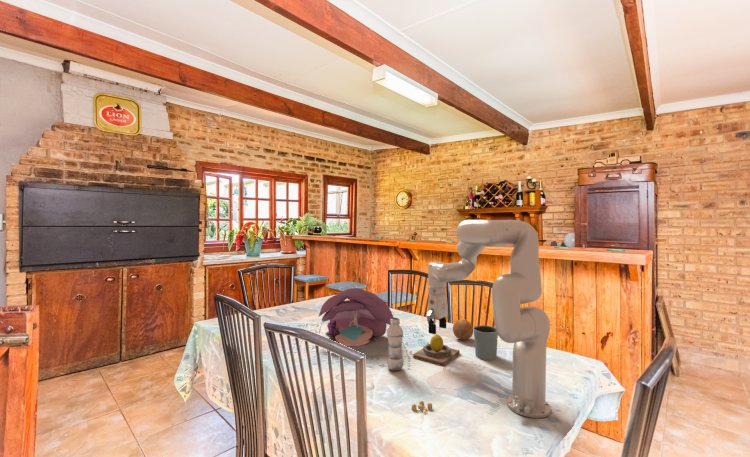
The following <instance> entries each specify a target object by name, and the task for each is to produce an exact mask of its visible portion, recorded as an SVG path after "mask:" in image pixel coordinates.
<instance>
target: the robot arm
mask: <svg viewBox="0 0 750 457" xmlns="http://www.w3.org/2000/svg"><path fill="white" fill-rule="evenodd" d="M455 233H456V235H455V236H456V238H457V240H458V241H459V242H457V244H456V251H457V253H458V255H459V256H460V257H461V260H459V261H458V262H447V263H444V262H443V261H432V262H429V263H428V265H427V276H428V279H427V282H428V284H427V286H428V303H427V304H428V305H427V314H426V321H427V324H428V333H429V334H431V335H436V334H437V324H436V322H437V320H438V327H439V328H440V329H447V318H448V317H447V316H448V314H449V311H448V310H449V309H448V308H449V306H448V298H447V283H449V282H455V281H459V282H460V281H463V280H465V279H467V278H468V277H469V276H470V275H471V274H472V273H473V272H474V271H475V269H476V266H477V263H478V261H477V260H478V258H477V257H478V256H479V254H481V253H482V252H483V251H484V249H485V248H486V247H491V248H492V247H507V246H508V247H509V246H513V248H512V251H511V253H510V258H509V259H510V260H509V265H510V273H505V274H501V275H499V276H498V277H497V278H496V279H495V280H494V282H493V284H492V288H491V298H492V300H491V301H492V311H493V323H494V327H495V329H496V332H497V334H498V337H499V338H500V339H501V340H502V341H503V342H504V343H506V344H507V343H508V344H513V347H512V392H511V393H512V394H511V395H509V396H507V399H506V404H507V406H508V407H509V409H510V410H511V411H512V412H514V413H516V414H518V415H521V416H523V417H527V418H532V419H533V418H534V419H542V418H545V417H548V416H550V415H551V414H552V410H551V409H552V406H551V405H550V404H549V403H548V402H547V401H546V389H547V388H546V386H547V385H546V384H547V383H546V381H547V378H546V376H547V346H548V339H549V336H550V331H551V323H550V322H551V321H550V318H549V316H548V314H547V313H546V311H545V310H543V309H542V308H539V307H537V306H530V305H529V306H523V307H521V305H524V304H529V303H533V302H537V301H538V300H540V298H541V297H542V287H543V286H542V279H541V278H542V276H541V267H540V266H541V265H540V255H539V250H540V248H539V247H540V246H539V243H540V241H539V236H538V235H539V234H538V233H537V231H536V229H535V228H534V227H533V226H532V225H531V224H530V223H528V222H526V221H523V220H517V219H496V220H495V219H491V220H490V219H488V220H487V219H465V220H463V221H461V222H459V224H458V226H457V227H456V232H455Z"/></svg>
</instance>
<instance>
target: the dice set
mask: <svg viewBox="0 0 750 457" xmlns="http://www.w3.org/2000/svg"><path fill="white" fill-rule="evenodd" d="M423 406H424V407H425V401H423V400H420V401H419V404H418V405H417V404H416V403H412V404H411V410H412V409H413V410H412V411H414V410H415V411H417V410H418V409H420V410H419V411H422V410H423V411H422V413H423V412H424V413H427V414H428V411H429V409H432V410H433V404H432V403H431V402H429V403H427V407H425V408H424V407H423ZM417 408H418V409H417ZM421 409H422V410H421ZM424 410H425V411H424ZM426 410H428V411H426ZM424 413H423V414H424Z"/></svg>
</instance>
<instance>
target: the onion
mask: <svg viewBox="0 0 750 457" xmlns="http://www.w3.org/2000/svg"><path fill="white" fill-rule="evenodd" d="M473 328H474V327H473V325H472V323H471V322H470V321H469V320H467V319H465V318H462V319H460V318H459V319H458V320H456V321H455V322H454V323H453V326H452V332H453V334H454V336H455V337H456V338H457V339H458V340H460V341H466V340H469V339H471V338H472V337H473V336H474V330H473Z"/></svg>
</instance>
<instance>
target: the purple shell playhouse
mask: <svg viewBox="0 0 750 457" xmlns="http://www.w3.org/2000/svg"><path fill="white" fill-rule="evenodd" d="M321 316H322V318H321V322H327V321H329V322H328V323H327V324H326V327H327V330H328V331H327V332H325V336H326V337H328V338H330V339H331V340H332V339H334V338H335V340H336V342H337V343H338V342H339V343H338V344H340V343H341V344H343V345H342V346H344V345H345V347H359V346H364V345H367V344H368V343H370V342H371V340H370V339H371V338H372V337H382V336H384V335H385V334H386V333H387V327H388V326H387V325H389V326H390V325H391V324H390V319H391V318H395V317H394V315H393V313H392V311H391V309H390V307H389V306H388V304H387V303H386V302H385V301H384V300H383V298H380V297H379V296H378V295H377V294H375V293H373V292H371V291H369V290H365V289H363V288H358V287H353V288H352V287H351V288H347V289H345V290H343V291H341V292H340V293H337V294H335V295H332V296H331V297H329V298H328V299H327V300H326V301H325V302H324V303H323V304H322V306H321V308H320V311H319V314H318V318H319V317H321ZM341 344H340V345H341Z"/></svg>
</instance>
